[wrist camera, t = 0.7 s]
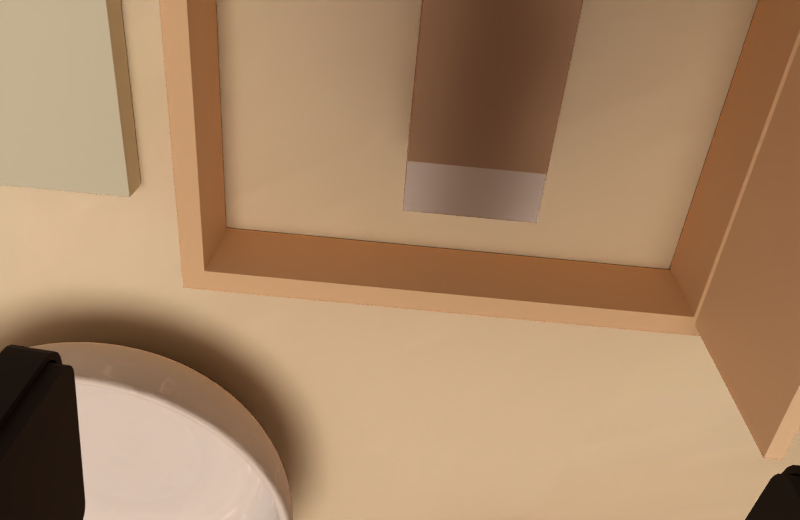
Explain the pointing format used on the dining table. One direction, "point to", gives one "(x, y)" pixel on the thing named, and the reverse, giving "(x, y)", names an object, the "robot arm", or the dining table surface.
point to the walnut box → (487, 105)
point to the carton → (543, 277)
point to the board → (66, 98)
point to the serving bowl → (168, 441)
